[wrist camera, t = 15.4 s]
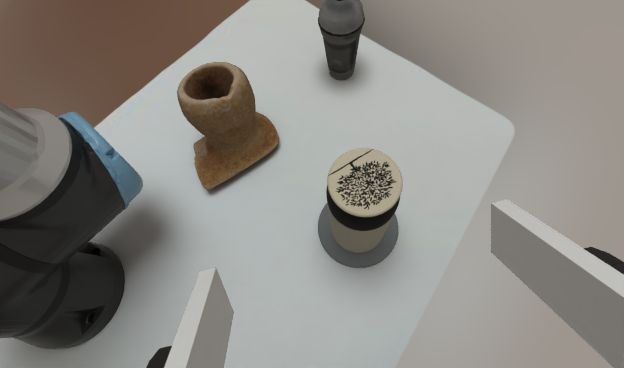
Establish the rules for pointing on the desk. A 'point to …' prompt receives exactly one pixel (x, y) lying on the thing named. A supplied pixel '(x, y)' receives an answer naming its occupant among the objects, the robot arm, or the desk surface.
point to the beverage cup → (341, 34)
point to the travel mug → (362, 198)
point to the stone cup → (224, 122)
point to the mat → (351, 257)
